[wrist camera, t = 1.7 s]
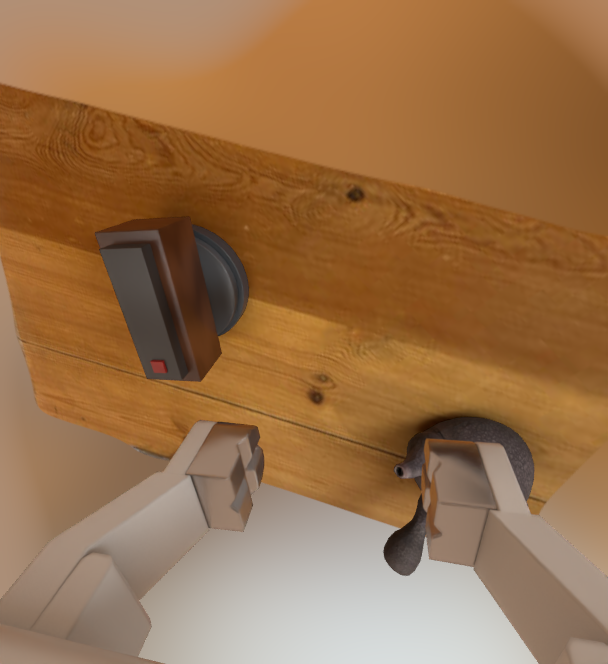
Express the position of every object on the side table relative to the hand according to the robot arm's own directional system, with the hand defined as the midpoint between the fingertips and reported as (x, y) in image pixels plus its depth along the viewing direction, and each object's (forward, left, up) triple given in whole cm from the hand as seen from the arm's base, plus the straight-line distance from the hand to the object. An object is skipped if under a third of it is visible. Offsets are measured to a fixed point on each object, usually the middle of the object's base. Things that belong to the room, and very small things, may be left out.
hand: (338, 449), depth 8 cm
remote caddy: (+18, +5, -24) cm, 30 cm away
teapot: (-8, +28, -25) cm, 39 cm away
